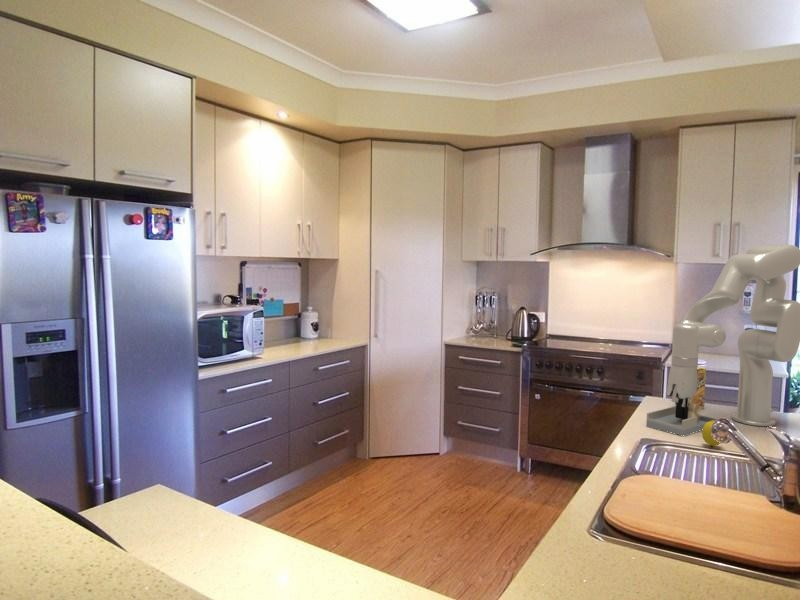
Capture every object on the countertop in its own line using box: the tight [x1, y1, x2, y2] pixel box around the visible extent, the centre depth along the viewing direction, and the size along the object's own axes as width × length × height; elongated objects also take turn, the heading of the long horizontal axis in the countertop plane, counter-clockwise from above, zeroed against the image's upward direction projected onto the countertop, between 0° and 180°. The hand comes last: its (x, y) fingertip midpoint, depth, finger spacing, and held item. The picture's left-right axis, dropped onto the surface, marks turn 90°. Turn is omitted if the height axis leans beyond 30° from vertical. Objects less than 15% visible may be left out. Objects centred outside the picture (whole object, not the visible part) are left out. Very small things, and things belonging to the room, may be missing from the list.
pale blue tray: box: [646, 405, 719, 437], centre depth 182 cm, size 22×12×5 cm, turn 124°
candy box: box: [690, 366, 707, 410], centre depth 203 cm, size 9×4×15 cm, turn 118°
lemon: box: [701, 420, 721, 447], centre depth 161 cm, size 6×6×8 cm
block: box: [687, 403, 702, 422], centre depth 181 cm, size 5×5×5 cm
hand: (681, 418), depth 178 cm, fingers closed
